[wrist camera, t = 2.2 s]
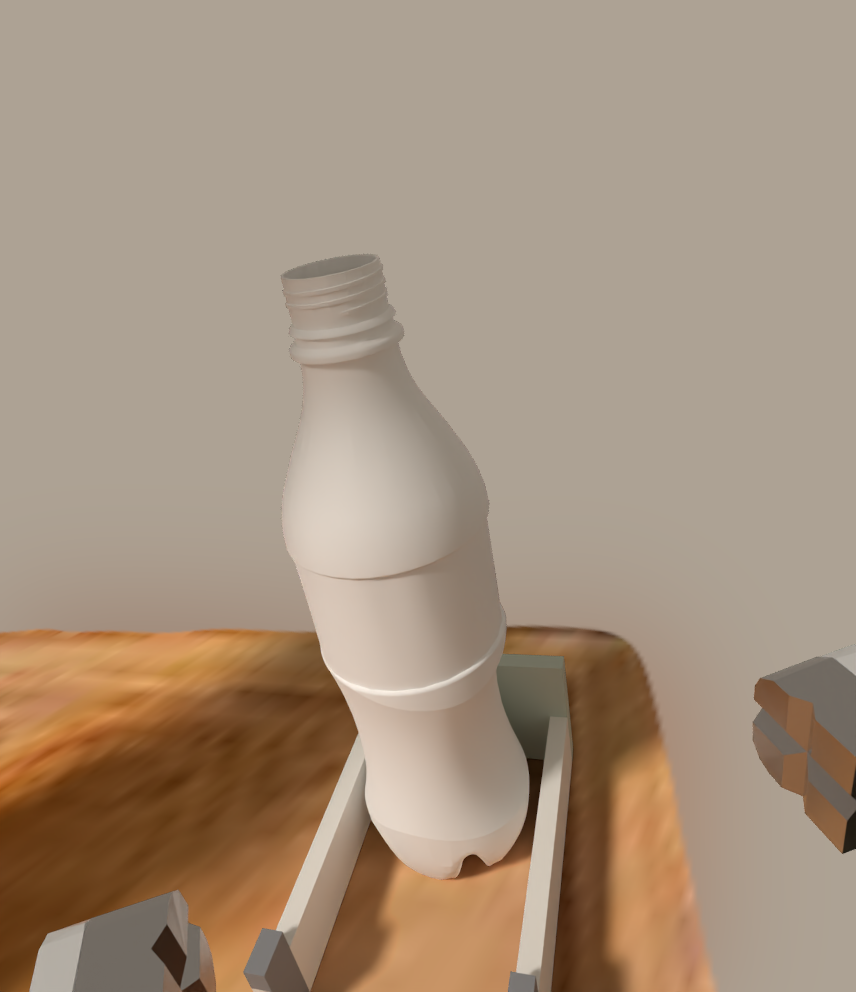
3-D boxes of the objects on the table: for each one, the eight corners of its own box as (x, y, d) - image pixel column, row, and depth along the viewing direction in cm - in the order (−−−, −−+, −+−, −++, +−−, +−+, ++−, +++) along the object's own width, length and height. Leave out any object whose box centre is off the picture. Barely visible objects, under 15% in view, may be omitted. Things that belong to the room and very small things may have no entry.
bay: (274, 1032, 26) (225, 938, 23) (386, 734, 38) (362, 647, 35) (541, 1091, 23) (522, 993, 20) (573, 749, 35) (563, 656, 32)
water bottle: (552, 777, 34) (485, 228, 22) (509, 922, 28) (386, 291, 16) (416, 748, 37) (292, 250, 25) (352, 874, 31) (153, 309, 19)
